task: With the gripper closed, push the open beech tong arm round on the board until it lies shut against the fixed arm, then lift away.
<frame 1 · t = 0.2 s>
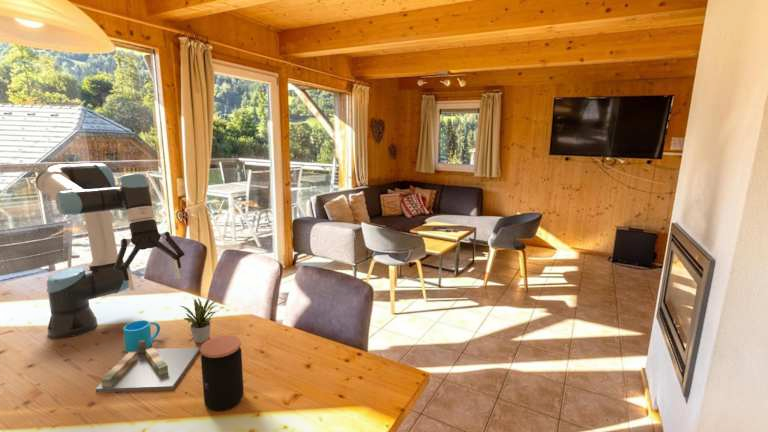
hand: (156, 284, 126), 28 cm above the table, tool tilted 15°, fingers open, 13 cm apart
house plant: (205, 339, 146), on the table
tongs base: (143, 356, 134), resting on board
mug: (144, 344, 142), on the table
coffee jar: (224, 401, 113), on the table
board: (152, 369, 126), on the table
tong arm: (156, 360, 127), point 3 cm above the table, hinge at 40.0°
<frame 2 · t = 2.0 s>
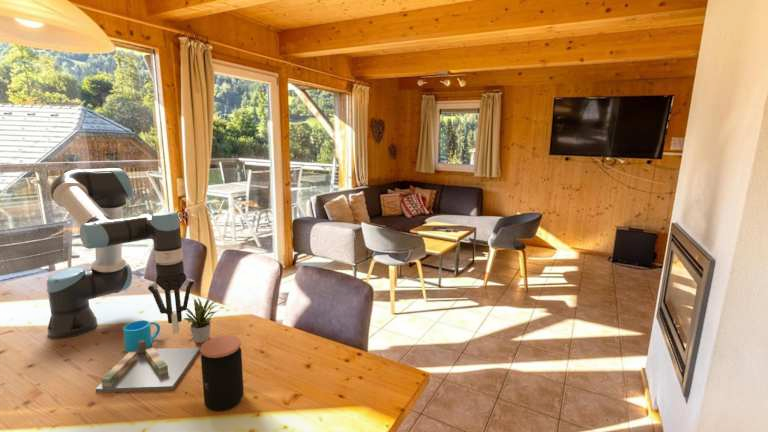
hand: (176, 331, 124), 14 cm above the table, tool pointing down, fingers closed
nothing on the table moved.
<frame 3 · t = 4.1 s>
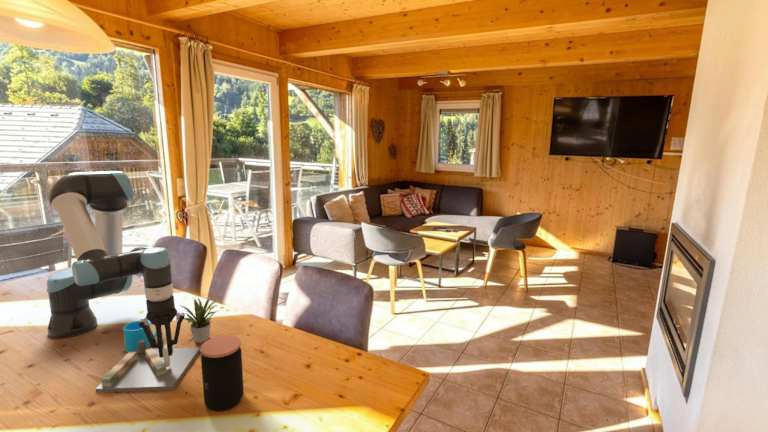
hand: (167, 364, 125), 3 cm above the table, tool pointing down, fingers closed
tong arm: (155, 361, 127), point 3 cm above the table, hinge at 38.1°, touching gripper
everything else where it was.
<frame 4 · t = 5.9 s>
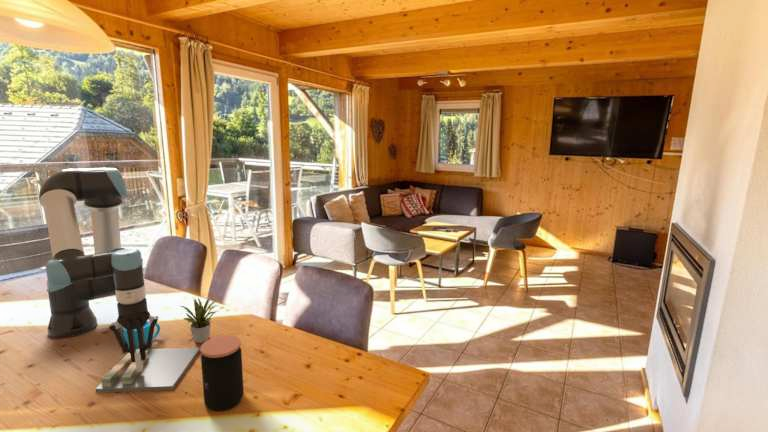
hand: (140, 369, 121), 3 cm above the table, tool pointing down, fingers closed
tong arm: (135, 366, 123), point 3 cm above the table, hinge at 8.3°, touching gripper
everything else where it was.
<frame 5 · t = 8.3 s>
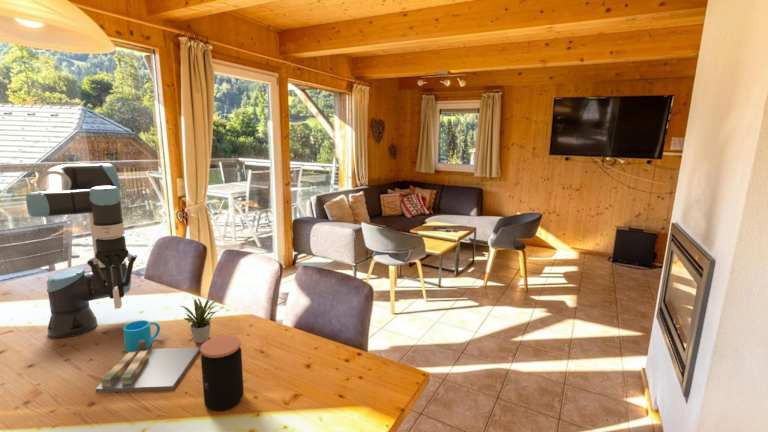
hand: (118, 306, 124), 21 cm above the table, tool pointing down, fingers closed
tong arm: (135, 366, 123), point 3 cm above the table, hinge at 8.1°
everything else where it was.
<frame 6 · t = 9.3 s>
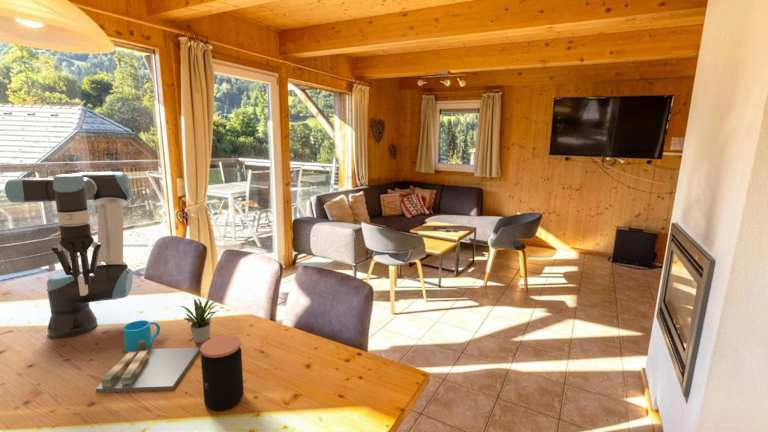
hand: (84, 293, 125), 24 cm above the table, tool pointing down, fingers closed
nothing on the table moved.
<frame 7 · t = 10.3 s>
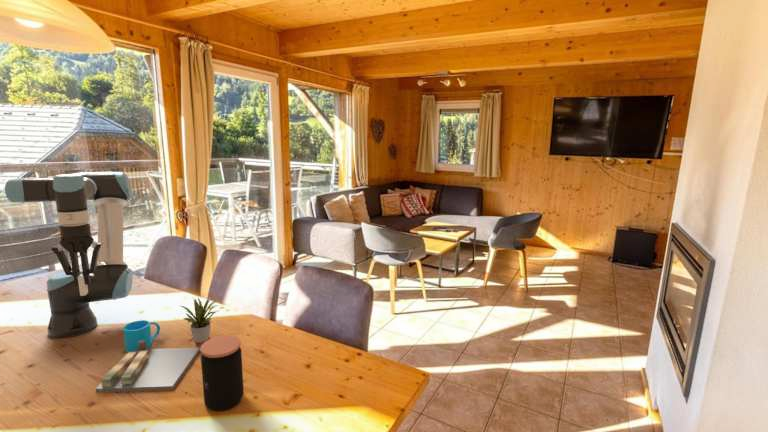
hand: (84, 293, 125), 24 cm above the table, tool pointing down, fingers closed
nothing on the table moved.
at the end: tong arm at +8° (first picture: +40°); tong arm touching nothing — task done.
